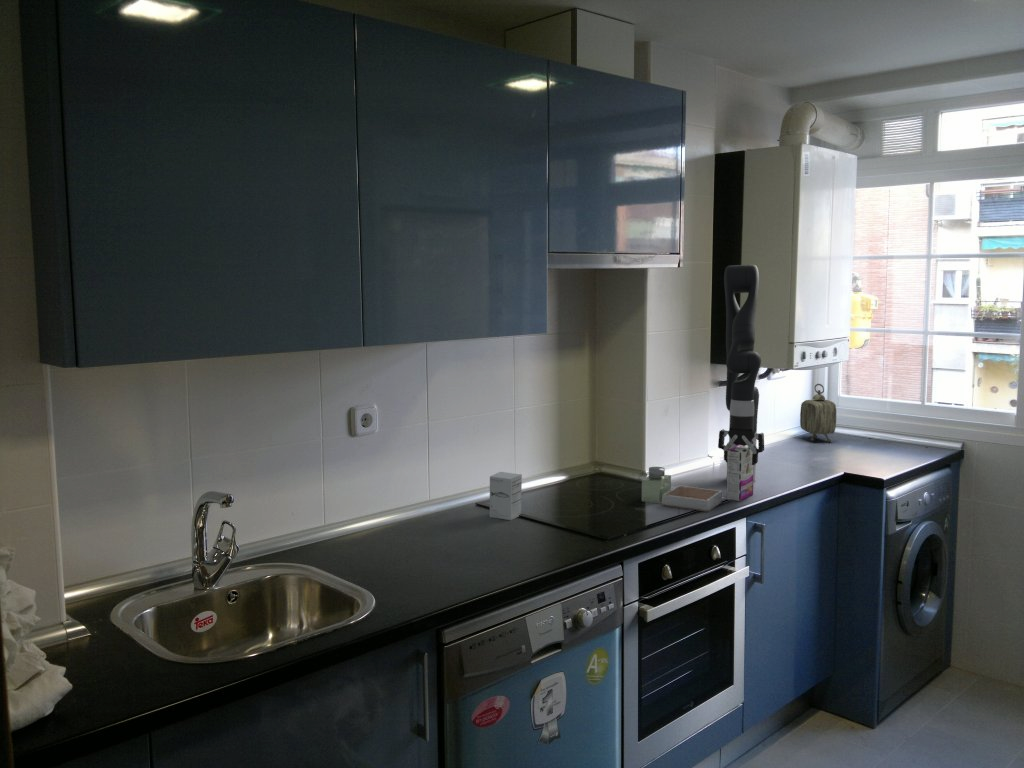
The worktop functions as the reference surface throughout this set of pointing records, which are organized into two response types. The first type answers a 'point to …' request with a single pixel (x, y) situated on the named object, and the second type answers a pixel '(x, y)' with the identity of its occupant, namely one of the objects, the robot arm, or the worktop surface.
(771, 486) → the worktop surface
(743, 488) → the candy bar box
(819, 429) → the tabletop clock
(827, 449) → the worktop surface
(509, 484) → the supplement box
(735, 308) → the robot arm
